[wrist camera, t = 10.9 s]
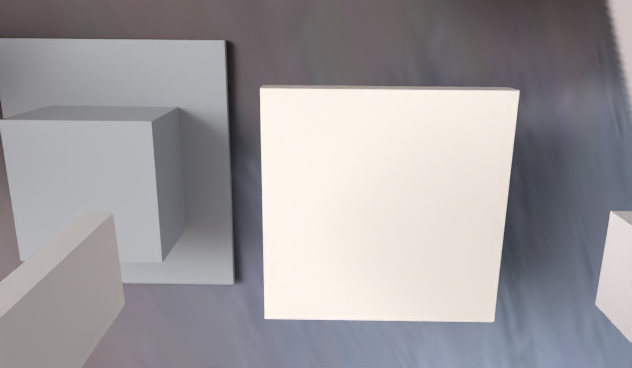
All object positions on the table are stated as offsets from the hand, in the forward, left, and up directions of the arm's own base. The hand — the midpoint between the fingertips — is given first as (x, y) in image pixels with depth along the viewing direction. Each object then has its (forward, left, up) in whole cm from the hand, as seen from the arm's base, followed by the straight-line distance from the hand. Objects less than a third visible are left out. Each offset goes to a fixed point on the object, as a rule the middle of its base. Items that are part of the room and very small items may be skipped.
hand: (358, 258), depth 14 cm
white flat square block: (+3, +2, -13) cm, 14 cm away
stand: (+3, -14, -20) cm, 25 cm away
